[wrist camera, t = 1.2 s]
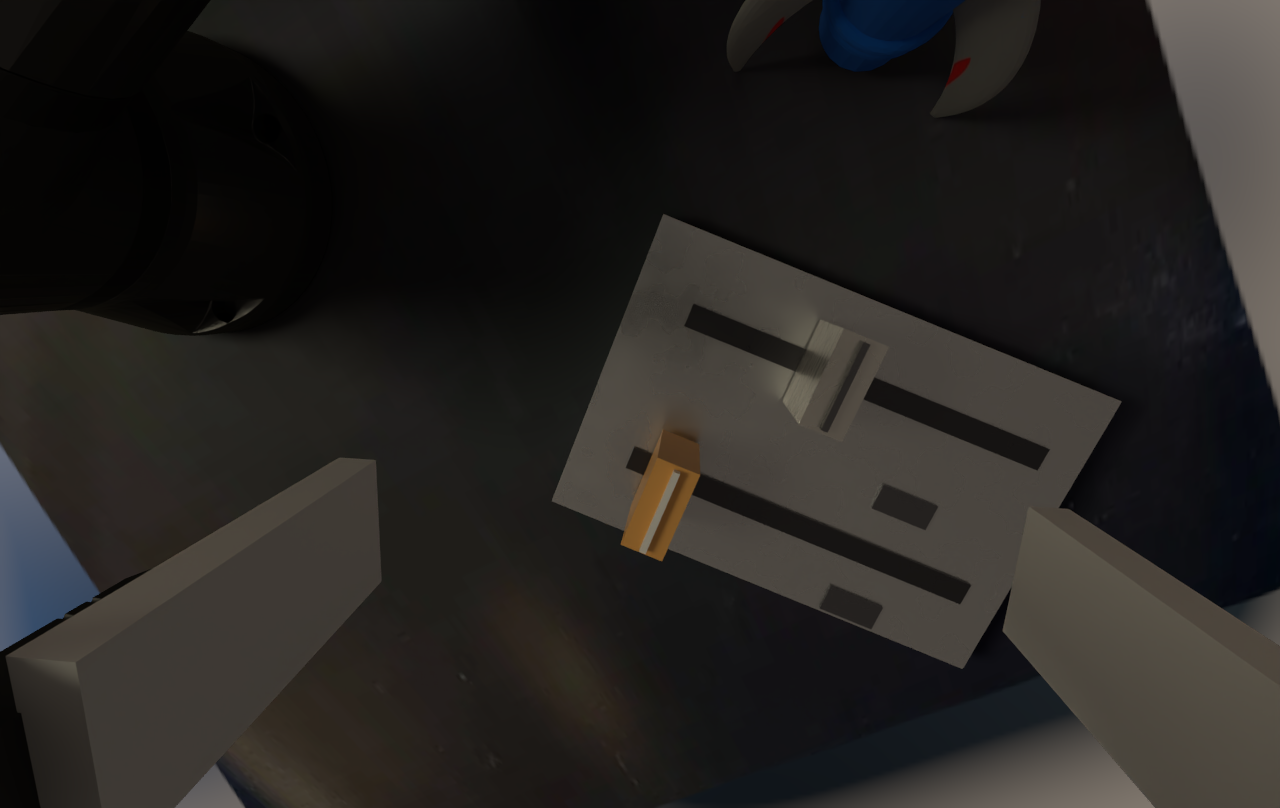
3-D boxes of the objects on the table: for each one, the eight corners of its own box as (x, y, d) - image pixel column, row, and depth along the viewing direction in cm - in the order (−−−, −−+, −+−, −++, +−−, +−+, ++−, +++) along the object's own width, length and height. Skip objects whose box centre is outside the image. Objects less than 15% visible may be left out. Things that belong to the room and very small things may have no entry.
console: (559, 488, 36) (524, 544, 29) (665, 217, 32) (656, 201, 25) (948, 647, 36) (1014, 745, 29) (1096, 393, 32) (1215, 429, 25)
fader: (631, 504, 33) (619, 548, 28) (662, 429, 32) (656, 460, 27) (666, 518, 33) (661, 565, 28) (699, 444, 32) (700, 478, 27)
